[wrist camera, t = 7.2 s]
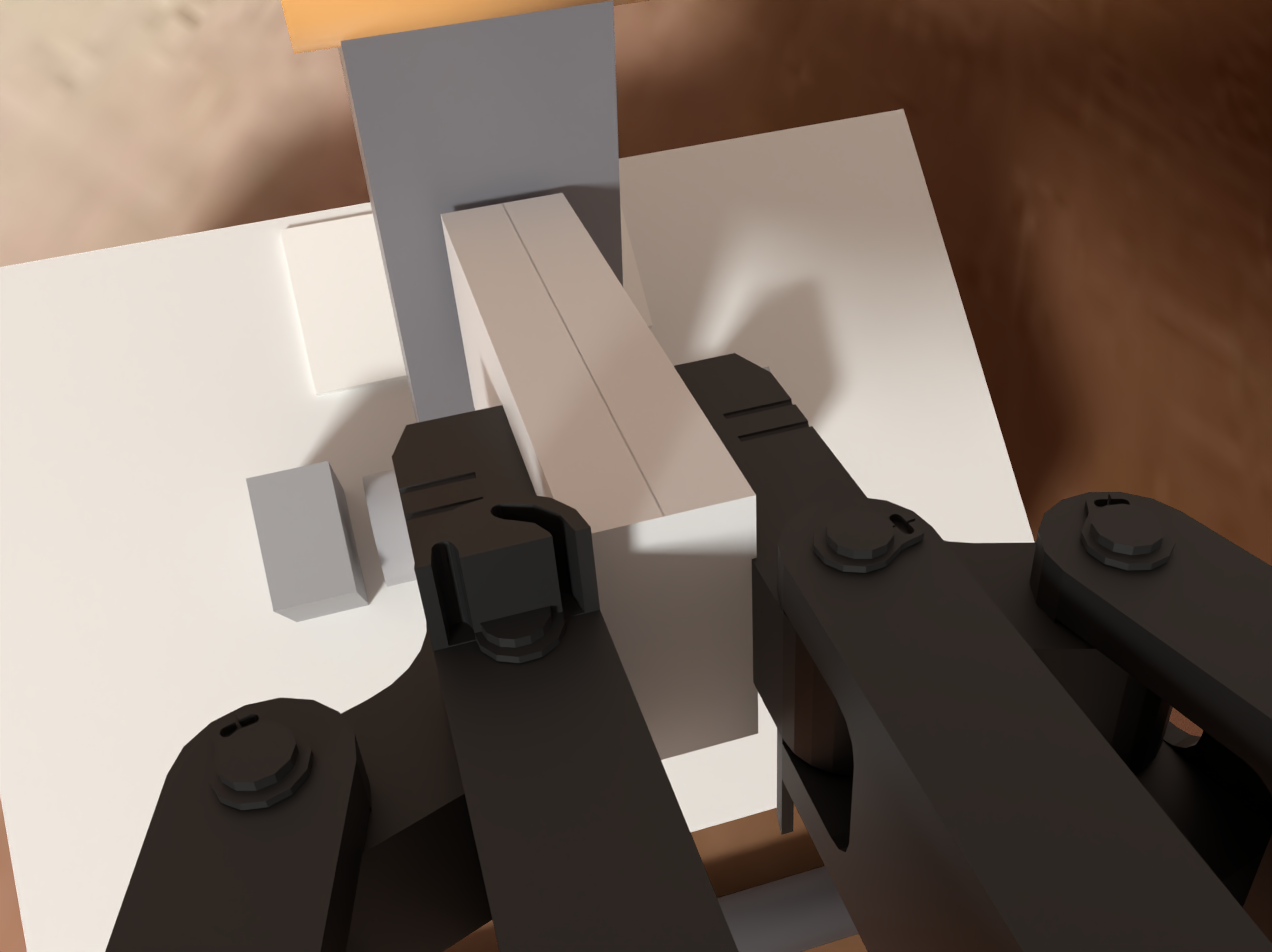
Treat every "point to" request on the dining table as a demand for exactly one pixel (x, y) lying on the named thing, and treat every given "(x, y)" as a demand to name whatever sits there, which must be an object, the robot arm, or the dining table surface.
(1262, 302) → the dining table surface
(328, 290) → the breaker box
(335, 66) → the dining table surface
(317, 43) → the breaker lever
